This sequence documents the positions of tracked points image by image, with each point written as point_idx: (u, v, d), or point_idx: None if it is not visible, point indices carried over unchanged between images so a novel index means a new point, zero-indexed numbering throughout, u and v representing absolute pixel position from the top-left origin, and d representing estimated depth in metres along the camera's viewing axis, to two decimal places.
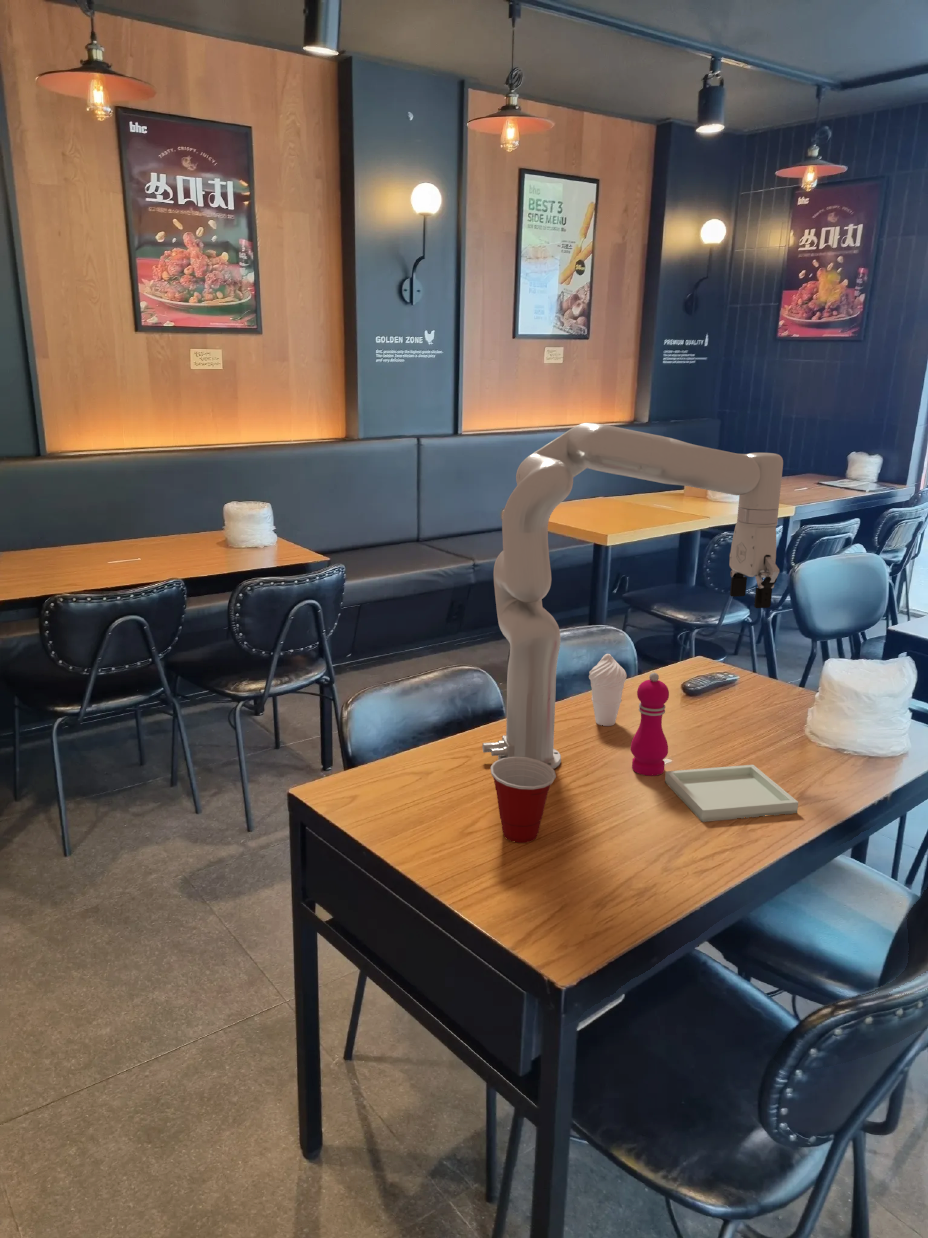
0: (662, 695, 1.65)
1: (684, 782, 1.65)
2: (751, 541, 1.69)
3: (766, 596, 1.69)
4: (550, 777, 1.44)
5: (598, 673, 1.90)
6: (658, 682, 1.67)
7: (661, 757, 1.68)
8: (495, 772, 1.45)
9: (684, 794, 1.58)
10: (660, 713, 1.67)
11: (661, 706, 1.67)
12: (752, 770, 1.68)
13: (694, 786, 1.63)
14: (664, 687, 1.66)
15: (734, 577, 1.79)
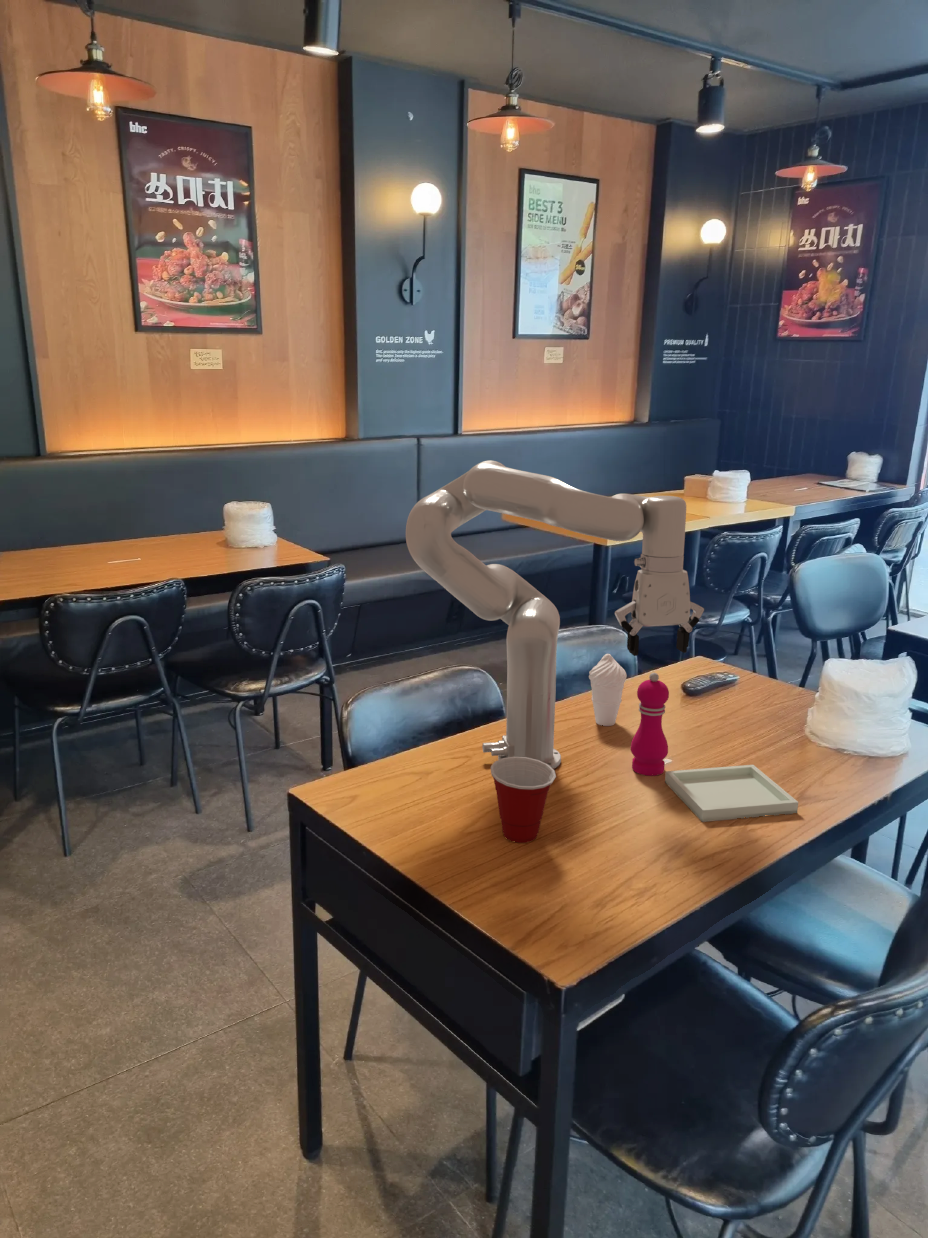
0: (662, 695, 1.65)
1: (684, 782, 1.65)
2: (683, 588, 1.61)
3: None
4: (550, 777, 1.44)
5: (598, 673, 1.90)
6: (658, 682, 1.67)
7: (661, 757, 1.68)
8: (495, 772, 1.45)
9: (684, 794, 1.58)
10: (660, 713, 1.67)
11: (661, 706, 1.67)
12: (752, 770, 1.68)
13: (694, 786, 1.63)
14: (664, 687, 1.66)
15: (636, 635, 1.63)
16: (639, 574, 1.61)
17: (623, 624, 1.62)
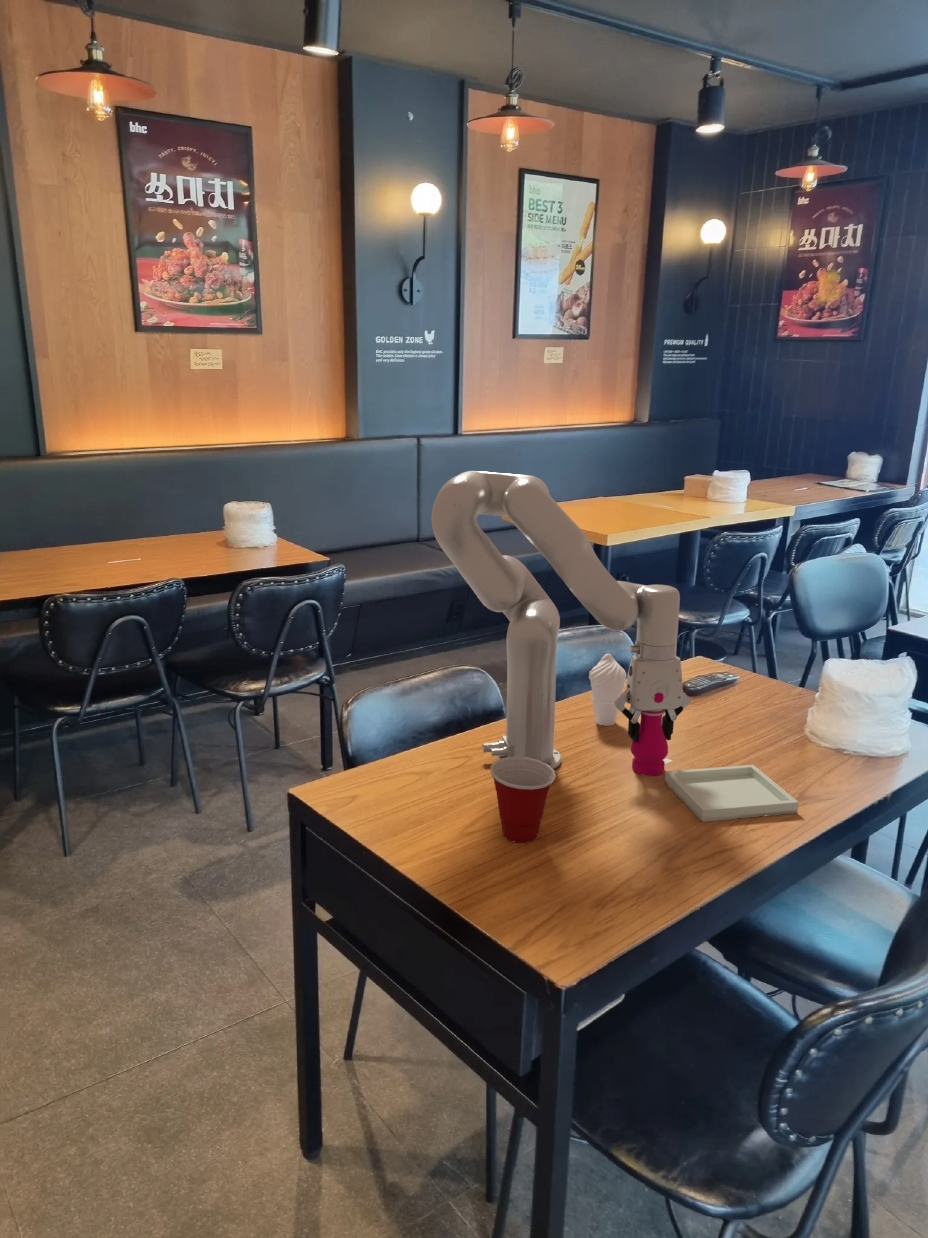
0: (662, 695, 1.65)
1: (684, 782, 1.65)
2: (676, 675, 1.65)
3: None
4: (550, 777, 1.44)
5: (598, 673, 1.90)
6: None
7: (661, 757, 1.68)
8: (495, 772, 1.45)
9: (684, 794, 1.58)
10: (660, 713, 1.67)
11: None
12: (752, 770, 1.68)
13: (694, 786, 1.63)
14: None
15: (637, 722, 1.68)
16: (633, 660, 1.65)
17: (624, 712, 1.67)
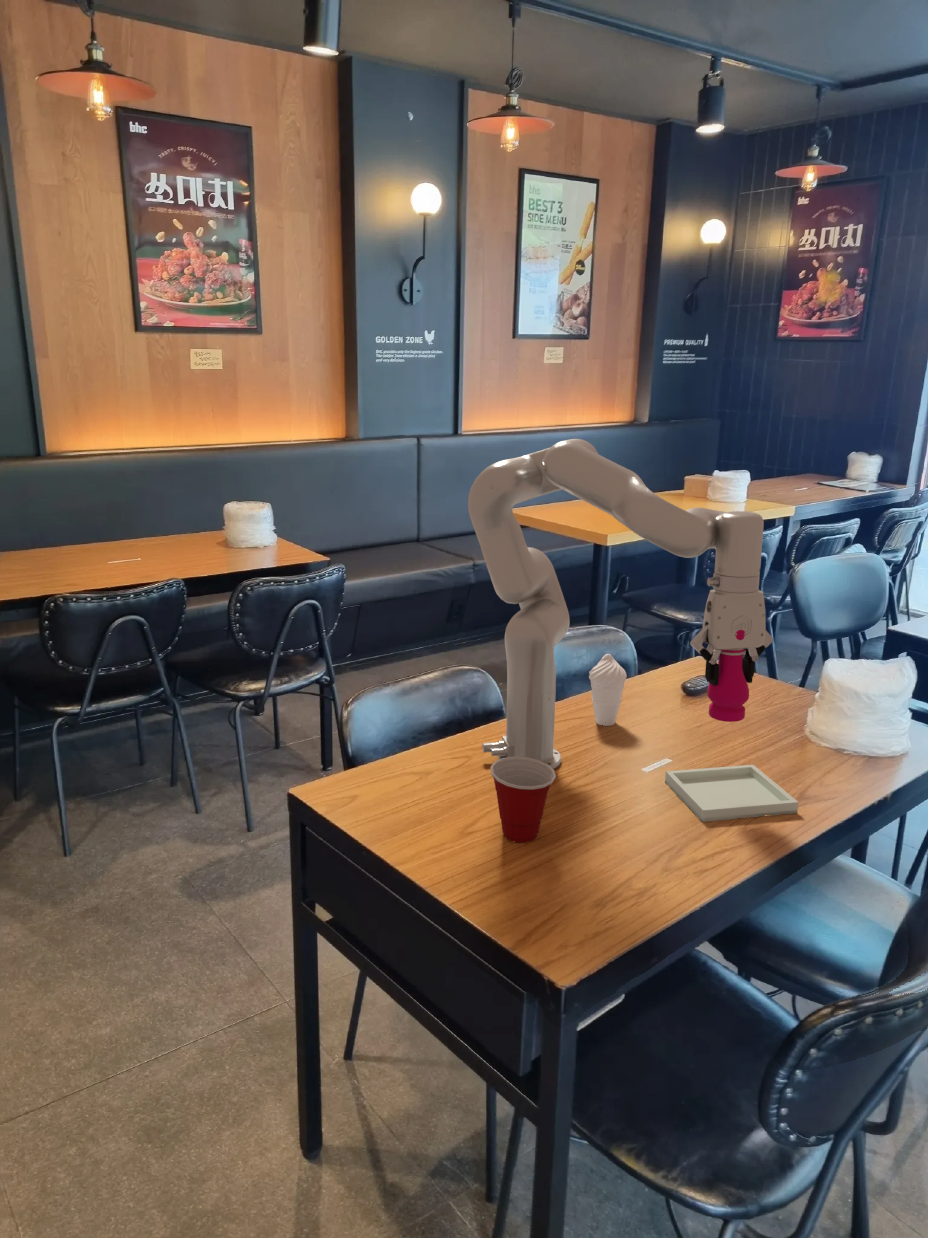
0: (744, 632, 1.51)
1: (684, 782, 1.65)
2: (759, 609, 1.51)
3: None
4: (550, 777, 1.44)
5: (598, 673, 1.90)
6: None
7: (743, 701, 1.54)
8: (495, 772, 1.45)
9: (684, 794, 1.58)
10: (741, 652, 1.53)
11: None
12: (752, 770, 1.68)
13: (694, 786, 1.63)
14: None
15: (716, 663, 1.54)
16: (712, 595, 1.51)
17: (703, 652, 1.53)
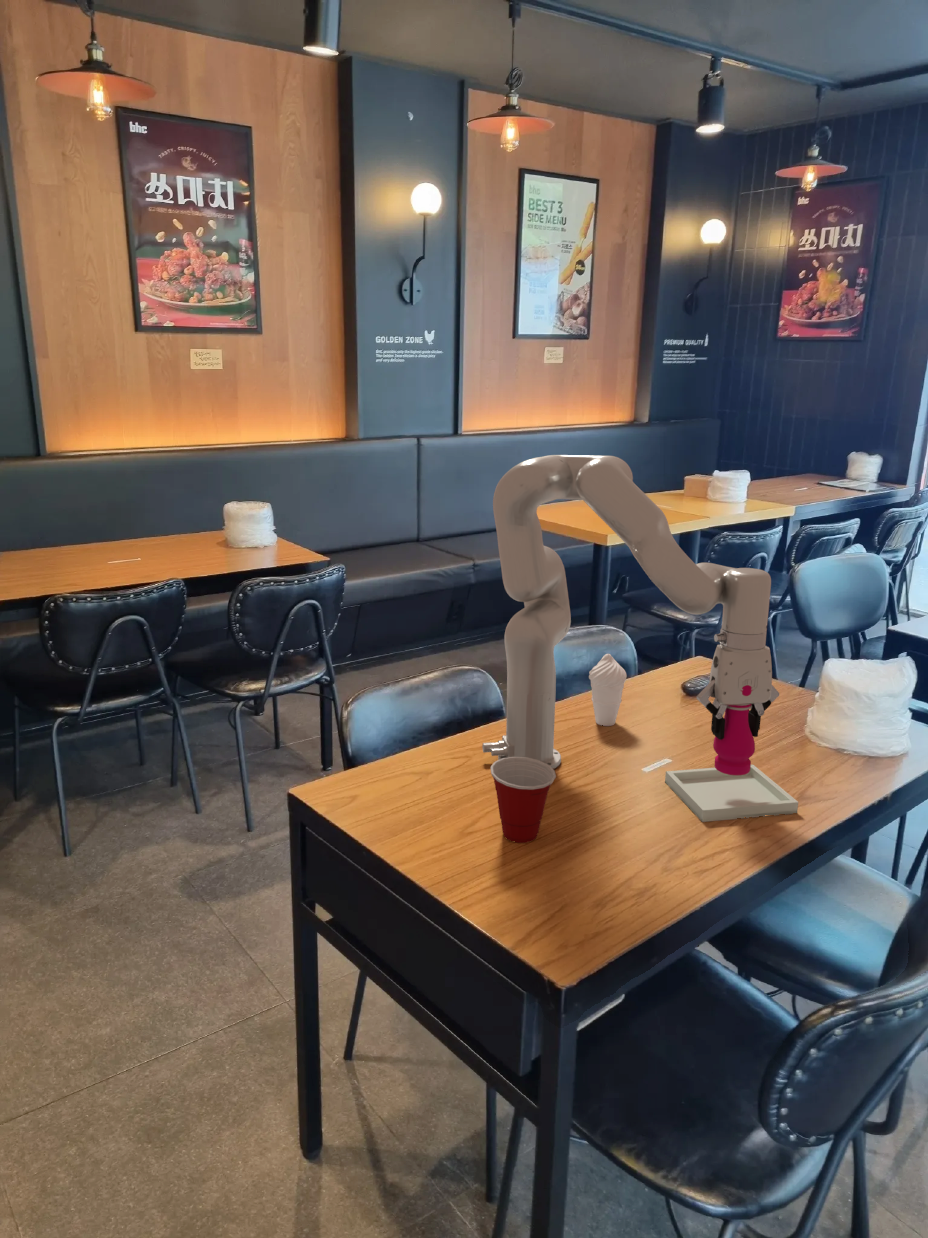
0: (750, 688, 1.52)
1: (684, 782, 1.65)
2: (765, 665, 1.52)
3: None
4: (550, 777, 1.44)
5: (598, 673, 1.90)
6: None
7: (748, 755, 1.55)
8: (495, 772, 1.45)
9: (684, 794, 1.58)
10: (747, 707, 1.54)
11: None
12: (752, 770, 1.68)
13: (694, 786, 1.63)
14: None
15: (722, 718, 1.55)
16: (719, 650, 1.52)
17: (709, 707, 1.54)
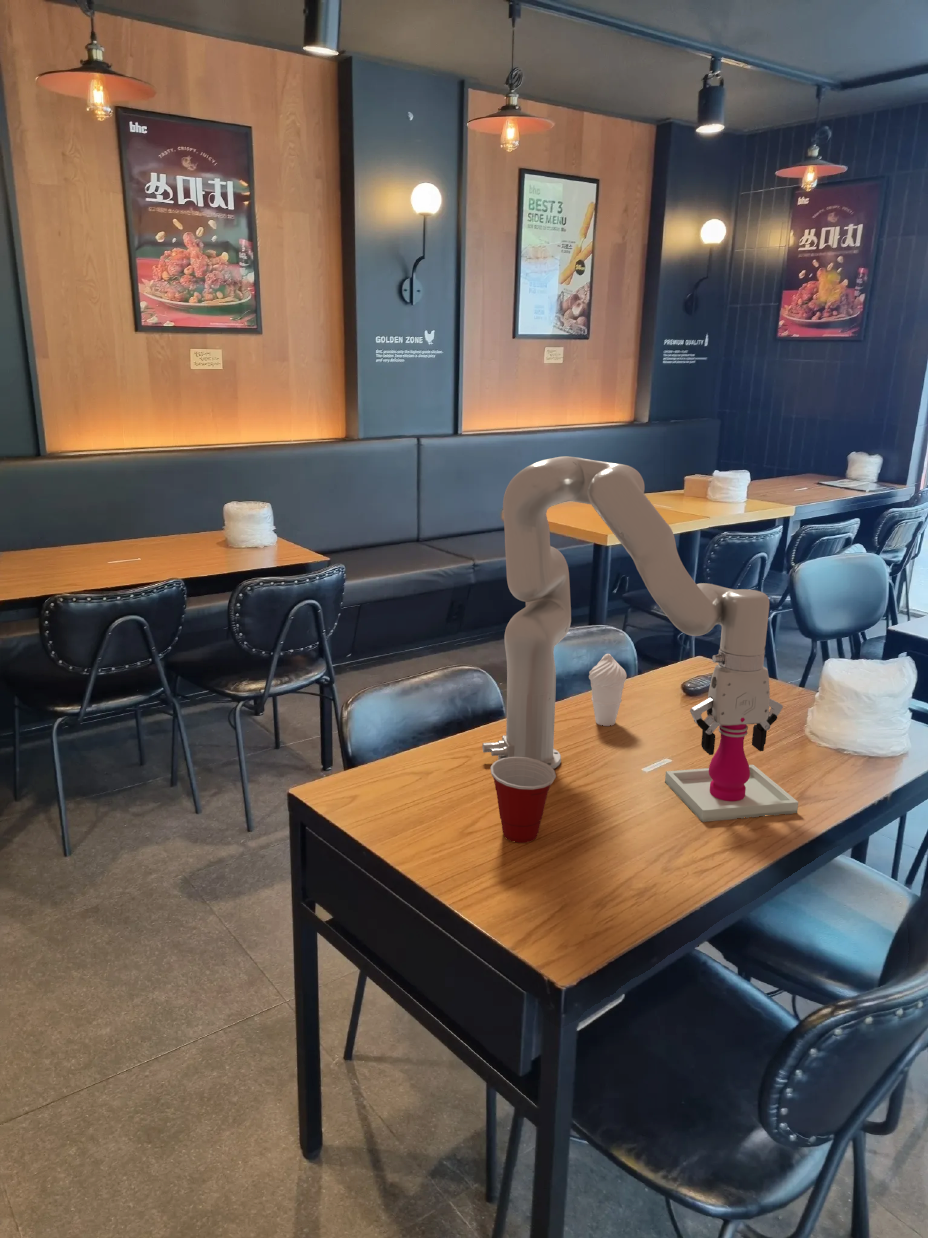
0: None
1: (684, 782, 1.65)
2: (763, 686, 1.53)
3: None
4: (550, 777, 1.44)
5: (598, 673, 1.90)
6: None
7: (743, 781, 1.56)
8: (495, 772, 1.45)
9: (684, 794, 1.58)
10: (743, 734, 1.55)
11: (744, 727, 1.55)
12: (752, 770, 1.68)
13: (694, 786, 1.63)
14: None
15: (712, 733, 1.55)
16: (717, 671, 1.53)
17: (699, 722, 1.54)
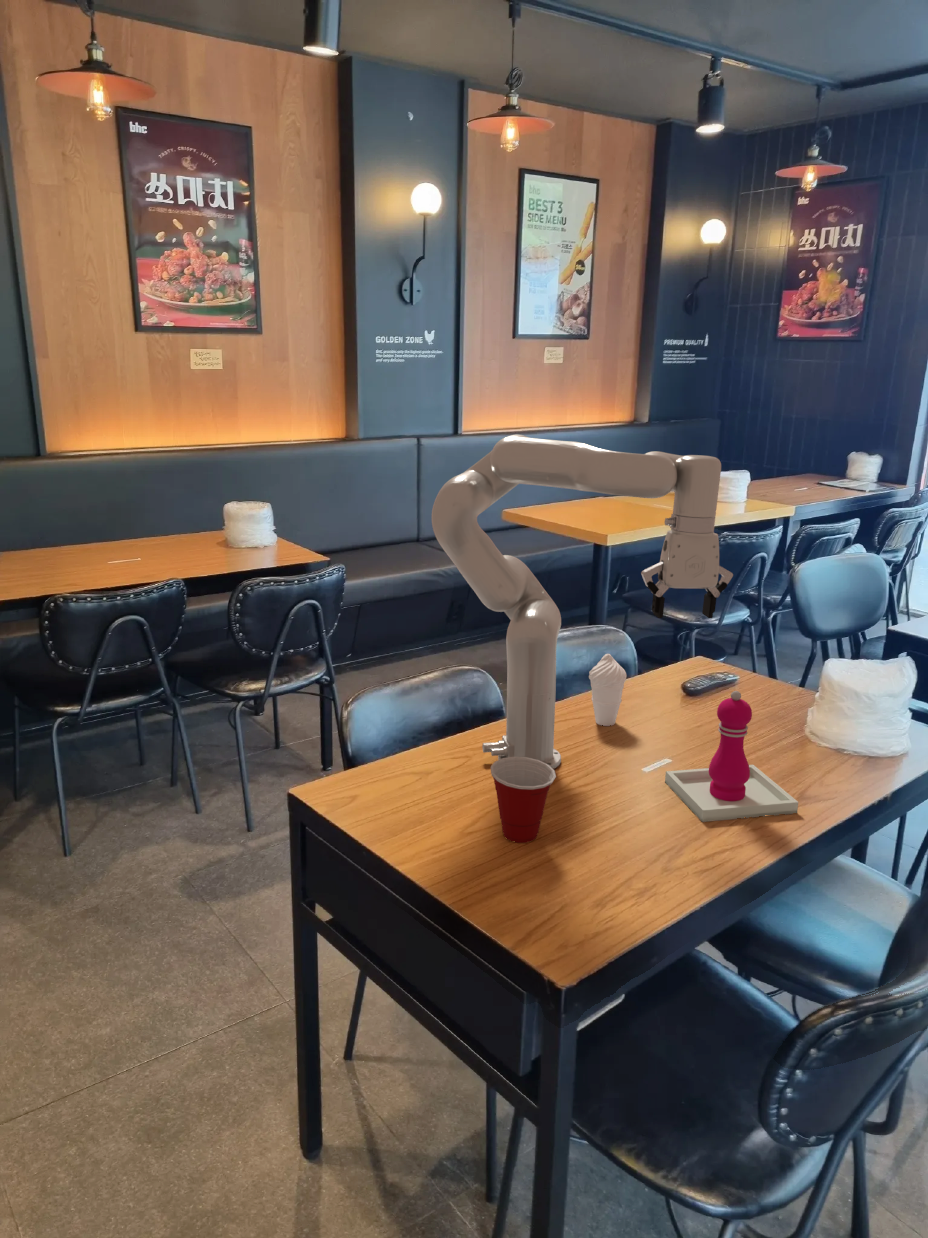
0: (745, 715, 1.54)
1: (684, 782, 1.65)
2: (713, 551, 1.57)
3: None
4: (550, 777, 1.44)
5: (598, 673, 1.90)
6: (741, 701, 1.55)
7: (743, 781, 1.56)
8: (495, 772, 1.45)
9: (684, 794, 1.58)
10: (743, 734, 1.55)
11: (744, 727, 1.55)
12: (752, 770, 1.68)
13: (694, 786, 1.63)
14: (747, 706, 1.54)
15: (662, 596, 1.59)
16: (668, 534, 1.57)
17: (649, 584, 1.59)
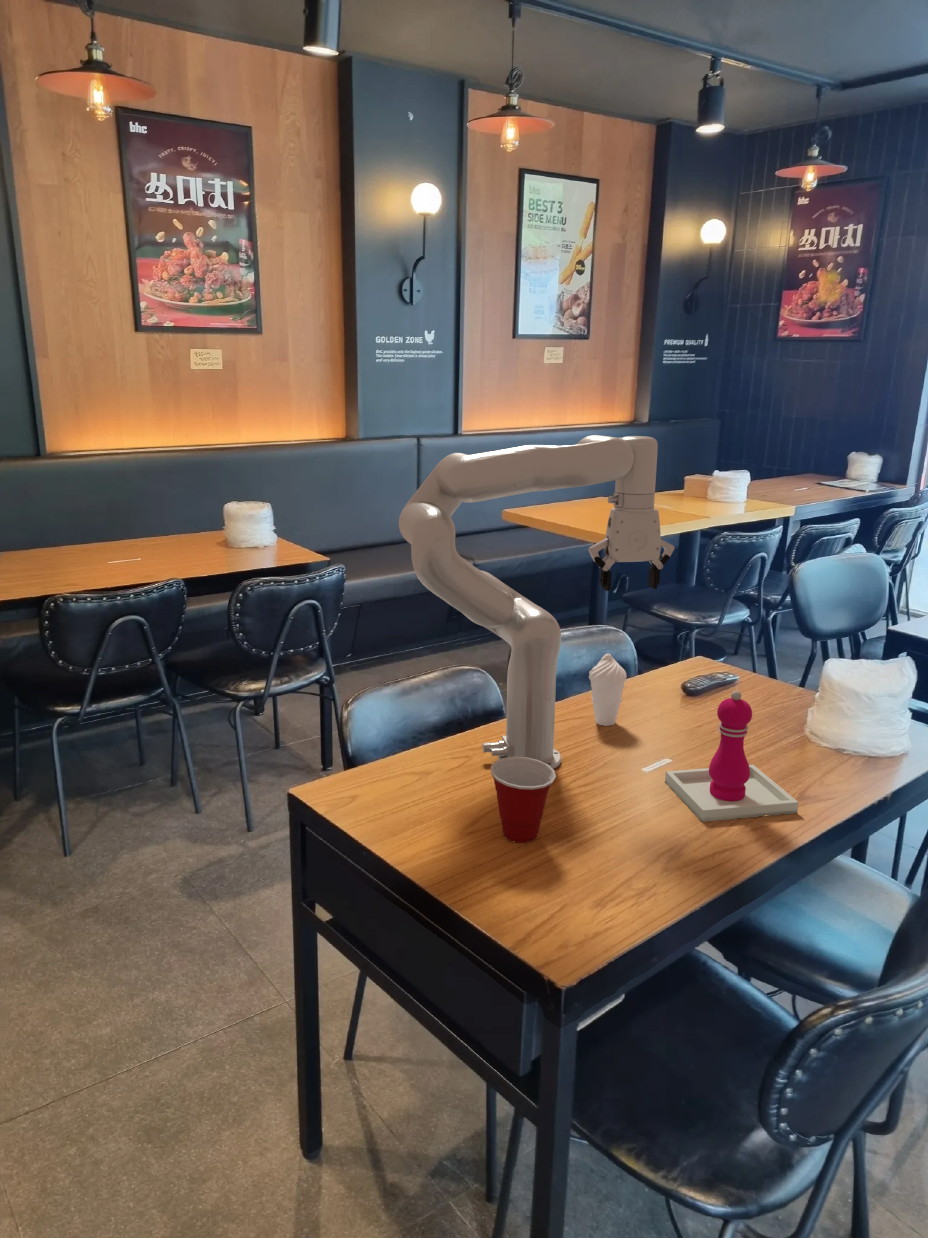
0: (746, 715, 1.54)
1: (684, 782, 1.65)
2: (654, 525, 1.67)
3: None
4: (550, 777, 1.44)
5: (598, 673, 1.90)
6: (741, 701, 1.55)
7: (743, 781, 1.56)
8: (495, 772, 1.45)
9: (684, 794, 1.58)
10: (743, 734, 1.55)
11: (744, 727, 1.55)
12: (752, 770, 1.68)
13: (694, 786, 1.63)
14: (748, 706, 1.54)
15: (609, 570, 1.69)
16: (612, 511, 1.67)
17: (596, 560, 1.69)
